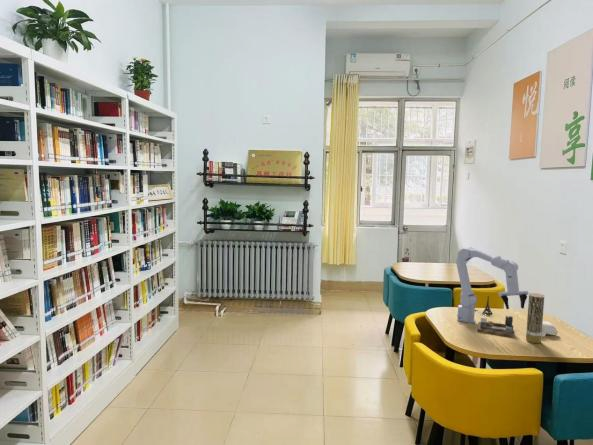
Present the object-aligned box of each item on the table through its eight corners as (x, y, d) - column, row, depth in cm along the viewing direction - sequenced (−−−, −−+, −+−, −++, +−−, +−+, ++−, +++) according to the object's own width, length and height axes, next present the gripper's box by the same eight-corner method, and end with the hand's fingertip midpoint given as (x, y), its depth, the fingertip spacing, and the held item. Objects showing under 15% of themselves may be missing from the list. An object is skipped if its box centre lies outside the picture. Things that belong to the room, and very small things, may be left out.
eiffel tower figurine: (472, 310, 263) (473, 290, 262) (487, 310, 264) (488, 290, 263) (485, 318, 248) (486, 297, 247) (500, 318, 249) (502, 297, 248)
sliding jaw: (505, 331, 219) (505, 318, 218) (504, 326, 226) (505, 314, 225) (512, 332, 217) (513, 319, 216) (511, 327, 224) (512, 315, 224)
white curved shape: (544, 336, 225) (522, 327, 224) (550, 322, 225) (528, 313, 223) (555, 342, 217) (532, 332, 215) (562, 328, 217) (538, 318, 215)
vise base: (477, 331, 222) (477, 322, 222) (478, 324, 235) (478, 315, 234) (513, 337, 214) (514, 328, 214) (512, 329, 227) (513, 320, 226)
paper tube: (540, 340, 211) (543, 294, 209) (541, 344, 205) (545, 297, 203) (525, 338, 214) (528, 292, 212) (526, 342, 208) (529, 295, 205)
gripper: (500, 285, 218) (503, 310, 218) (529, 284, 216) (532, 309, 215) (496, 284, 225) (499, 308, 225) (524, 282, 223) (527, 306, 222)
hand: (515, 308), depth 220 cm, fingers open, 7 cm apart
